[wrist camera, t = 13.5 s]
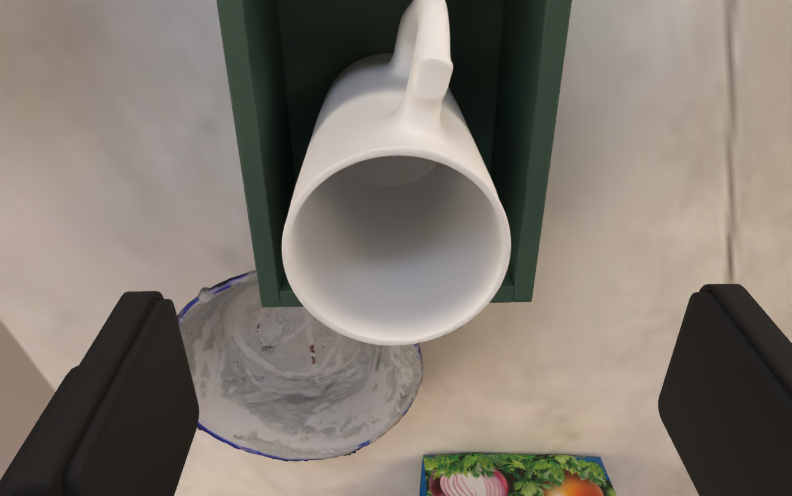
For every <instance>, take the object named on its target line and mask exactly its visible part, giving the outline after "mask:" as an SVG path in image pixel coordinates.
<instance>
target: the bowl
mask: <svg viewBox="0 0 792 496" xmlns="http://www.w3.org/2000/svg"><path fill="white" fill-rule="evenodd" d="M177 319H178V323H179V327H180V331H181V335H182V339H183V343H184V347H185V351H186V355H187V359H188V363H189V368H190V372H191V376H192V380H193V384H194V388H195V392H196V396H197V400H198V404H199V421H198V425H197V427H198V429H199V430H203V431H205V432H207V433H208V434H210V435H211V436H213V437H214V438H216V439H218V440H220V441H222V442H225V443H227V444H229V445H231V446H232V447H234V448H236V449H242V450H244V451H246V452H249V453H252V454H257V455H262V456H265V457H269V458H272V459H279V460H283V461H289V460H290V461H301V460H303V461H308V460H322V459H328V458H334V457H338V456H342V455H343V456H346V455H351V453H356V451H357V450H359V449H361V448H362V447H364V446H367V445H369V444H370V443H372V442H374V441H375V440H377V439H378V438H380V437H381V436H383V435H384V434H385V433H386V432H387V431H388V430H390V429H391V428H392V427H393V426H394V425H396V424H397V423H398V422H399V421H400V419H401V418H402V417H403V416H404V415H405V414H406V412H407V411H408V409H409V408H410V406H411V404H412V403H413V401H414V399H415V397H416V394H417V391H418V388H419V386H420V384H421V382H422V377H423V362H422V355H421V351H420V346H419V343H416V344H410V345H397V346H388V345H376V344H370V343H365V342H361V341H358V340H355V339H352V338H349V337H347V336H344V335H342V334H340V333H338V332H336V331H334V330H332V329H330V328H329V327H327V326H326V325H324V324H323V323H321V322H320V321H319V320H318V319H316V318H315V317H314V316H313V315H312V314H311V313H310V312H309V311H308V310H307V309H306V308H305V307H262V306H261V299H260V293H259V286H258V279H257V272H256V270H255V271H250V272H247V273H244V274H242V275H239V276H236V277H232V278H230V279H228V280H225V281H223V282H221V283H219V284H217V285H215V286H213V287H211V288H207V287H205V288H202V289H201V290H200V293H199V295H198V296H197V297H196V298H195V299H193V300H192V301H190V302H189V303H188V304H187V305H186V306H185V307H184V308H183V309H182V310H181V311H180V312H179V314H178V315H177Z"/></svg>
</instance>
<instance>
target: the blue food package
mask: <svg viewBox="0 0 792 496" xmlns="http://www.w3.org/2000/svg"><path fill="white" fill-rule="evenodd" d="M419 496H616V494H615V491H614V489H613V486H612V484H611V482H610V479H609V477H608V475H607V472H606V470H605V467H604V465H603V463H602V460H601V458H600V457H580V456H571V455H520V454H496V453H467V454H452V455H423V463H422V473H421V484H420V495H419Z"/></svg>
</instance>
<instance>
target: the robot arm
mask: <svg viewBox="0 0 792 496" xmlns="http://www.w3.org/2000/svg"><path fill="white" fill-rule="evenodd" d="M658 408H659V414H660V417H661V419H662V422H663V424H664V426H665V428H666V430H667V432H668V434H669V436H670V438H671V440H672V442H673V444H674V446H675V448H676V450H677V452H678V454H679V456H680V458H681V460H682V462H683V464H684V466H685V468H686V470H687V472H688V474H689V476H690V478H691V480H692V482H693V484H694V486H695V488H696V490H697V492H698V494H699V496H792V343H791V342H790V341H789V340H788V338H787V337H786V336H785V335H784V334H783V333H782V331H781V330H780V329H779V328H778V327H777V326H776V324H775V323H774V322H773V321H772V320H771V318H770V317H769V316H768V315H767V314H766V313H765V311H764V310H763V309H762V308H761V307H760V306H759V304H758V303H757V302H756V301H755V300H754V299H753V297H752V296H751V295H750V294H749V293H748V291H747V290H746V289H745V288H744V287H743V286H741V285H739V284H707V285H704V286H703V287H702V288H701V289H700V291H699V292H696V293H693V294H692V295H691V297H690V299H689V303H688V306H687V309H686V312H685V315H684V319H683V322H682V325H681V328H680V332H679V335H678V338H677V341H676V344H675V348H674V351H673V354H672V357H671V361H670V364H669V367H668V370H667V373H666V377H665V380H664V383H663V386H662V390H661V393H660V396H659V400H658ZM198 421H199V404H198V400H197V396H196V392H195V388H194V384H193V380H192V376H191V372H190V368H189V363H188V359H187V355H186V351H185V347H184V343H183V339H182V335H181V331H180V327H179V323H178V319H177V315H176V311H175V307H174V304H173V302H172V300H170V299H164V298H163V295H162V294H161V293H160V292H158V291H141V292H125V293H124V294H123V295H122V296H121V298H120V300H119V301H118V303H117V304H116V306H115V308H114V309H113V311H112V313H111V314H110V316H109V317H108V319H107V321H106V322H105V324H104V326H103V327H102V329H101V330H100V332H99V334H98V335H97V337H96V339H95V340H94V342H93V343H92V345H91V347H90V348H89V350H88V352H87V353H86V355H85V356H84V358H83V360H82V361H81V363H80V365H79V366H76V367H74V368H73V369H71V370H70V371H69V373H68V374H67V375H66V376H65V378H64V380H63V381H62V383H61V384H60V386H59V388H58V389H57V391H56V392H55V394H54V396H53V397H52V399H51V400H50V402H49V403H48V405H47V407H46V408H45V410H44V411H43V413H42V415H41V416H40V418H39V420H38V421H37V423H36V424H35V426H34V427H33V429H32V431H31V432H30V434H29V435H28V437H27V438H26V440H25V442H24V443H23V445H22V446H21V448H20V450H19V451H18V453H17V454H16V456H15V458H14V459H13V461H12V463H11V464H10V466H9V467H8V469H7V471H6V472H5V474H4V475H3V477H2V479H1V480H0V496H174V494H175V491H176V488H177V485H178V482H179V479H180V476H181V473H182V470H183V467H184V464H185V461H186V458H187V455H188V452H189V449H190V446H191V443H192V441H193V438H194V435H195V432H196V429H197V425H198Z"/></svg>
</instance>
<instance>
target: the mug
mask: <svg viewBox="0 0 792 496" xmlns="http://www.w3.org/2000/svg"><path fill="white" fill-rule="evenodd" d="M452 71H453V64H452V62H451V58H450V31H449V19H448V11H447V6H446V2H445V0H413V1H412V2H411V4H410V5H409V6H408V8H407V9H406V10H405V12H404V14H403V15H402V18H401V20H400V24H399V29H398V34H397V39H396V44H395V49H394V53H382V54H376V55H371V56H368V57H365V58H362V59H360V60H358V61H356V62H354V63H353V64H351V65H350V66H348V67H347V68H346V69H344V70H343V71H342V72H341V73H340V74H339V75H338V76H337V78H336V79H335V80H334V81H333V83H332V84H331V86H330V88H329V90H328V92H327V94H326V96H325V99H324V102H323V105H322V108H321V110H320V112H319V115H318V118H317V121H316V124H315V128H314V131H313V134H312V137H311V140H310V143H309V146H308V150H307V153H306V156H305V159H304V162H303V165H302V168H301V171H300V174H299V177H298V180H297V183H296V187H295V190H294V193H293V197H292V200H291V204H290V208H289V212H288V216H287V219H286V222H285V226H284V231H283V236H282V259H283V265H284V269H285V273H286V276H287V279H288V281H289V284H290V286H291V288H292V290H293V292H294V293H295V295H296V296H297V298H298V299H299V301H300V302H301V303H302V305H303V306H304V307H305V308H306V309H307V310H308V311H309V312H310V313H311V314H312V315H313V316H314V317H315V318H316V319H318V320H319V321H320V322H321V323H323V324H324V325H326V326H327V327H329V328H330V329H332V330H334V331H336V332H338V333H340V334H342V335H344V336H347V337H349V338H352V339H355V340H358V341H361V342H365V343H370V344H376V345H388V346H397V345H410V344H416V343H421V342H426V341H429V340H433V339H436V338H439V337H441V336H444V335H446V334H448V333H450V332H452V331H454V330H456V329H458V328H460V327H461V326H463V325H465V324H466V323H467V322H469V321H470V320H472V319H473V318H474V317H475V316H476V315H478V314H479V313H480V312H481V311H482V310H483V309H484V308H485V307H486V306H487V304H488V303H489V302H490V301H491V300H492V298H493V297H494V295H495V294H496V292H497V291H498V289H499V287H500V286H501V284H502V282H503V279H504V277H505V274H506V271H507V268H508V264H509V260H510V253H511V236H510V228H509V224H508V220H507V217H506V214H505V211H504V209H503V206H502V204H501V203H500V201H499V198H498V195H497V192H496V189H495V187H494V184H493V182H492V180H491V177H490V175H489V173H488V171H487V168H486V166H485V164H484V162H483V160H482V157H481V155H480V153H479V151H478V149H477V146H476V144H475V142H474V140H473V138H472V135H471V133H470V131H469V129H468V127H467V124H466V122H465V120H464V117H463V115H462V113H461V110H460V108H459V106H458V104H457V102H456V100H455V98H454V96H453V94H452V93H451V91H450V89H449V87H448V85H449V82H450V78H451V74H452Z"/></svg>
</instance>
